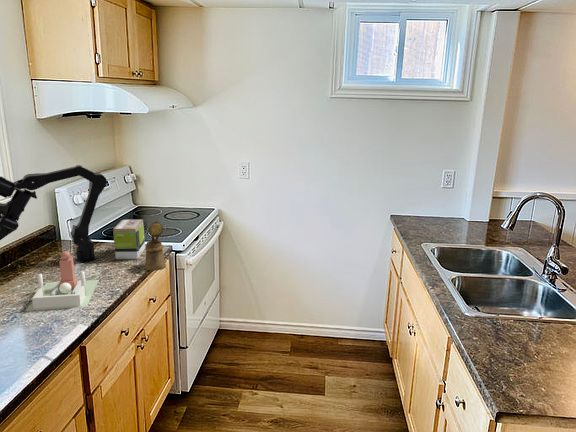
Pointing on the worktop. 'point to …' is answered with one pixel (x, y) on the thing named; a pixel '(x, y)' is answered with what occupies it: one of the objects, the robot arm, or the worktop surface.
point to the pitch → (53, 290)
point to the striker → (67, 270)
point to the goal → (58, 296)
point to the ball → (65, 288)
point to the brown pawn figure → (155, 249)
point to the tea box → (129, 239)
